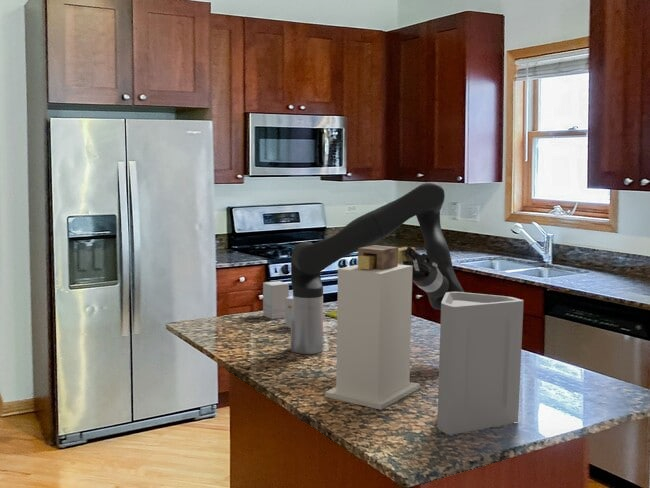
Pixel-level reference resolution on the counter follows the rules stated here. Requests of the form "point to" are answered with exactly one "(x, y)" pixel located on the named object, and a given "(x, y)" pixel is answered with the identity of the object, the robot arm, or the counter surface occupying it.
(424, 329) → the counter surface
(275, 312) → the supplement box
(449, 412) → the triangular grey vase
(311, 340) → the robot arm
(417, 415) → the counter surface
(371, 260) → the gold block
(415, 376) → the counter surface
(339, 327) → the mount
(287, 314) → the small box
